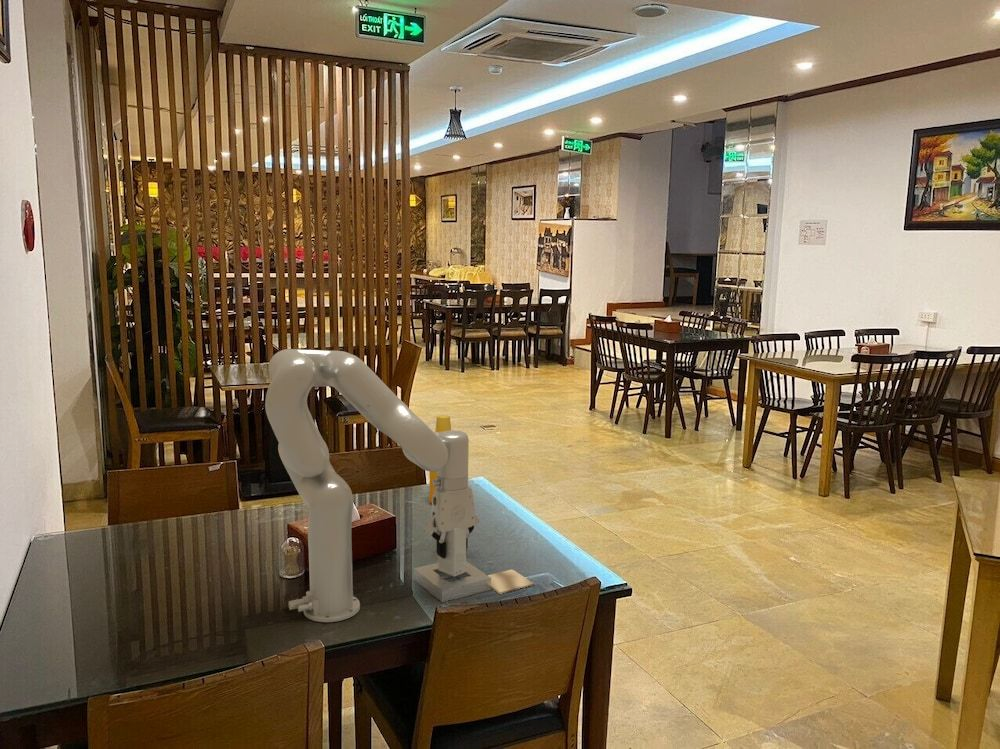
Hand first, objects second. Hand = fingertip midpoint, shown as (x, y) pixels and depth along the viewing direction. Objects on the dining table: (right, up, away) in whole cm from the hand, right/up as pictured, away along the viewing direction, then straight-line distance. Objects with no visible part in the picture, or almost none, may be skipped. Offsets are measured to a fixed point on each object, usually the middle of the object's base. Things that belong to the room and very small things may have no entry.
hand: (452, 553), depth 186 cm
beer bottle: (-7, +1, +64) cm, 65 cm away
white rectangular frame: (0, -8, +2) cm, 8 cm away
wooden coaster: (+13, -8, +3) cm, 16 cm away
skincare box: (0, -5, +1) cm, 5 cm away
